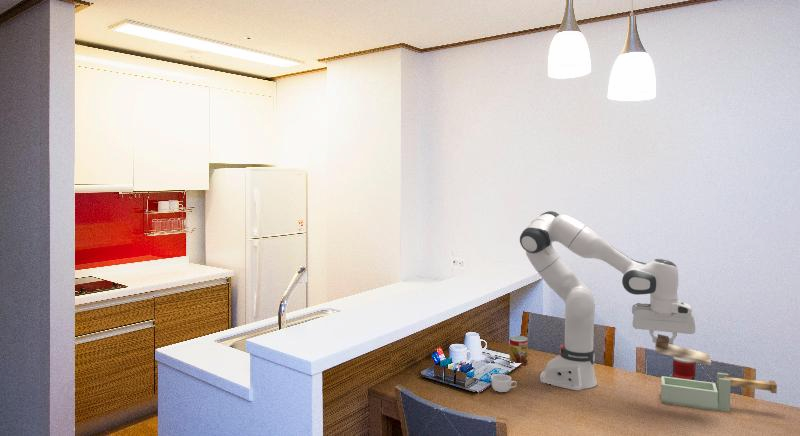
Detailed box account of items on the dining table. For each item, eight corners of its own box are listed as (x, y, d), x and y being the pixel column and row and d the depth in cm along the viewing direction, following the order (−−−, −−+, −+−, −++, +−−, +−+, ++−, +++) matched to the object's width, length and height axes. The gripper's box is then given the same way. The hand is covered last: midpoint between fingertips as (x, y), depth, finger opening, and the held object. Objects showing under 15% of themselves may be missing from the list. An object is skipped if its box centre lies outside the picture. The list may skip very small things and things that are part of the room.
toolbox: (661, 402, 202) (662, 372, 201) (660, 393, 210) (661, 364, 209) (730, 412, 193) (731, 381, 192) (726, 402, 201) (727, 372, 200)
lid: (655, 352, 191) (658, 339, 191) (655, 344, 200) (657, 332, 199) (710, 365, 185) (713, 352, 184) (707, 356, 193) (710, 344, 192)
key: (724, 386, 195) (725, 378, 194) (723, 382, 198) (723, 374, 198) (776, 393, 188) (776, 385, 188) (774, 389, 192) (774, 380, 192)
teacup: (490, 393, 213) (490, 380, 212) (492, 386, 220) (492, 373, 220) (516, 396, 210) (516, 382, 210) (517, 388, 218) (517, 375, 217)
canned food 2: (697, 389, 214) (698, 361, 213) (675, 387, 215) (676, 360, 214) (691, 381, 221) (692, 355, 220) (670, 380, 223) (670, 354, 222)
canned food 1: (524, 368, 238) (524, 342, 237) (507, 365, 242) (507, 339, 241) (529, 363, 245) (529, 337, 244) (512, 360, 249) (512, 334, 248)
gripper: (631, 304, 194) (630, 342, 196) (696, 309, 186) (695, 349, 187) (632, 300, 200) (631, 337, 201) (695, 305, 192) (693, 343, 193)
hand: (662, 343), depth 194 cm, fingers closed on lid, 4 cm apart
